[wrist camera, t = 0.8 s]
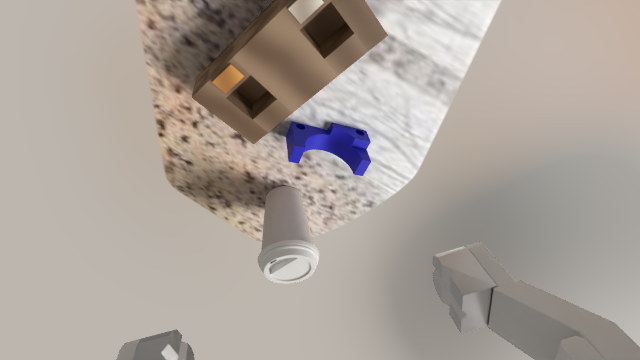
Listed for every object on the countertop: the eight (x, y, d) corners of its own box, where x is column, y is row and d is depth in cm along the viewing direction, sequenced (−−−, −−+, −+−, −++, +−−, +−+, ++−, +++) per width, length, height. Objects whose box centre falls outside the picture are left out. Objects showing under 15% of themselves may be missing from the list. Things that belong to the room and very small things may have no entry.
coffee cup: (299, 172, 58) (310, 244, 48) (316, 206, 65) (328, 276, 54) (248, 189, 59) (247, 263, 49) (269, 221, 66) (272, 292, 55)
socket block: (327, -53, 36) (336, -43, 33) (376, 20, 42) (388, 36, 39) (196, 77, 44) (191, 98, 41) (253, 123, 50) (253, 145, 47)
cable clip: (366, 130, 54) (375, 154, 50) (354, 151, 57) (362, 176, 53) (294, 112, 50) (298, 136, 46) (285, 136, 53) (288, 161, 49)
